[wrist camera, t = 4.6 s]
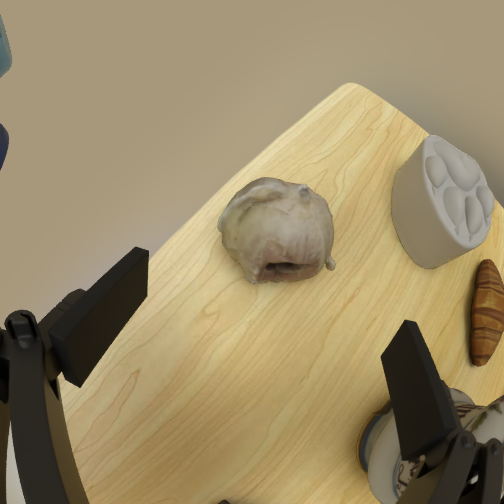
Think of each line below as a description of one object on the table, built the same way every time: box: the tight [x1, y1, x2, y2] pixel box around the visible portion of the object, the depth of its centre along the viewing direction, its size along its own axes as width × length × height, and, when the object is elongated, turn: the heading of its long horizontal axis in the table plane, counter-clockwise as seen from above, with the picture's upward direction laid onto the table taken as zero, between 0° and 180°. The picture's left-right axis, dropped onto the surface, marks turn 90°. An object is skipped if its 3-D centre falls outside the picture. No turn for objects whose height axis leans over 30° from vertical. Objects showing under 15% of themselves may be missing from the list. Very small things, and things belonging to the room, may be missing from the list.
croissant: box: [471, 259, 504, 367], centre depth 23 cm, size 14×7×5 cm, turn 163°
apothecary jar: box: [357, 388, 504, 504], centre depth 13 cm, size 12×12×18 cm
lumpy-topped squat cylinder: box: [391, 135, 495, 269], centre depth 25 cm, size 10×13×9 cm
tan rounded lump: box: [218, 177, 336, 284], centre depth 22 cm, size 9×8×10 cm
